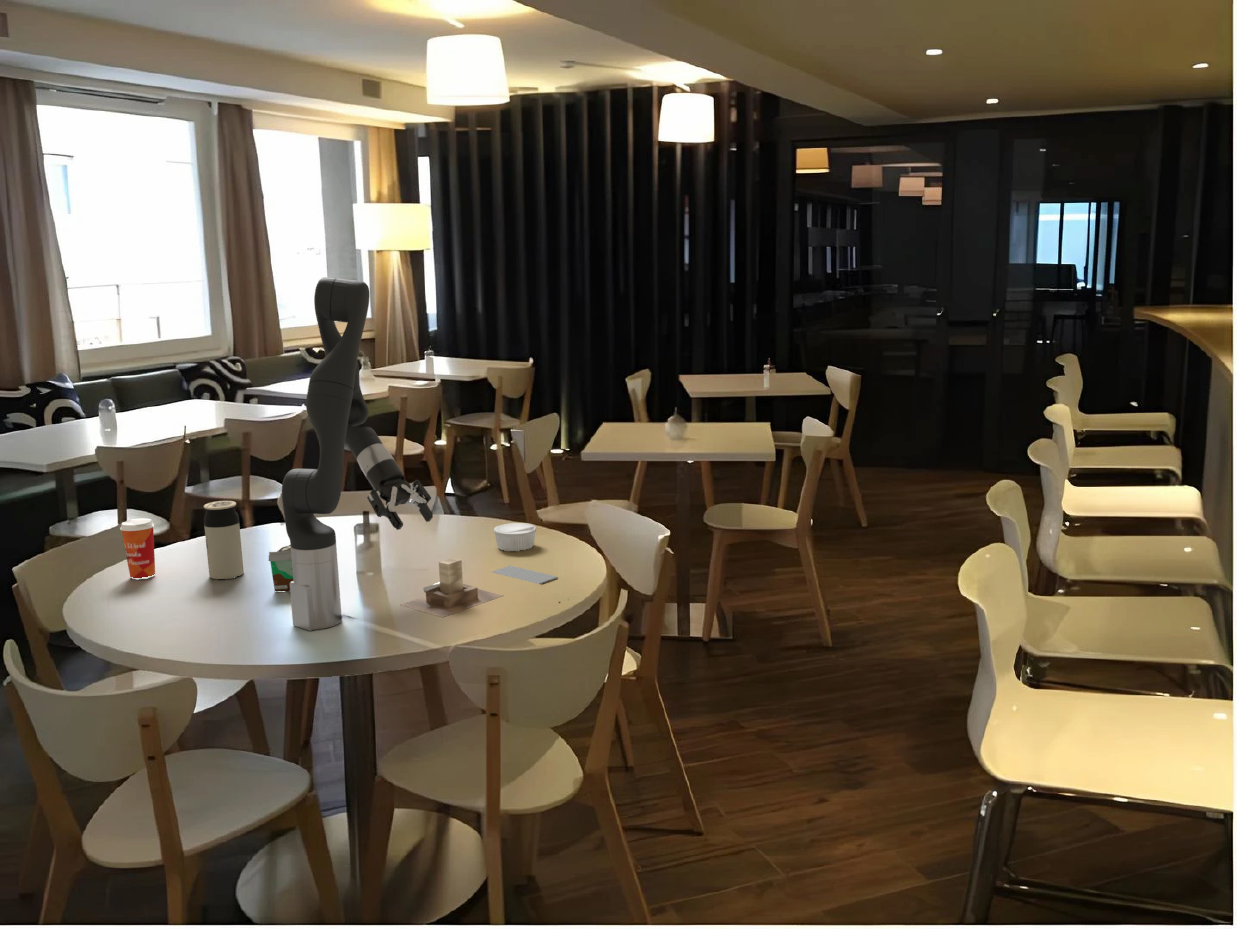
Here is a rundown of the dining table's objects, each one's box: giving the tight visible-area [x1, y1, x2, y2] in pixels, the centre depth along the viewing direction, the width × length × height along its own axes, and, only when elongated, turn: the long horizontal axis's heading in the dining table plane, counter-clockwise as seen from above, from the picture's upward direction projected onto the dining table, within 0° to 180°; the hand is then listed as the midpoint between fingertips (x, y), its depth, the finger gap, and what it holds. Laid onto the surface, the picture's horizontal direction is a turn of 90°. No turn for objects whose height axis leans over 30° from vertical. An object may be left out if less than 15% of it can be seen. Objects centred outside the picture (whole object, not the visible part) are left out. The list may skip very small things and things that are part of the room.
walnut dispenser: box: [400, 581, 504, 618], centre depth 238 cm, size 18×14×5 cm
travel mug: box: [203, 500, 245, 580], centre depth 262 cm, size 8×8×18 cm
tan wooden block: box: [438, 557, 464, 594], centre depth 238 cm, size 4×3×9 cm
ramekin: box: [493, 522, 537, 552], centre depth 284 cm, size 11×11×5 cm
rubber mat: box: [491, 565, 559, 585], centre depth 254 cm, size 18×16×1 cm
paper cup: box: [119, 517, 156, 578], centre depth 263 cm, size 8×8×14 cm
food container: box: [268, 544, 293, 592], centre depth 253 cm, size 12×6×10 cm, turn 168°
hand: (415, 523), depth 242 cm, fingers open, 8 cm apart
